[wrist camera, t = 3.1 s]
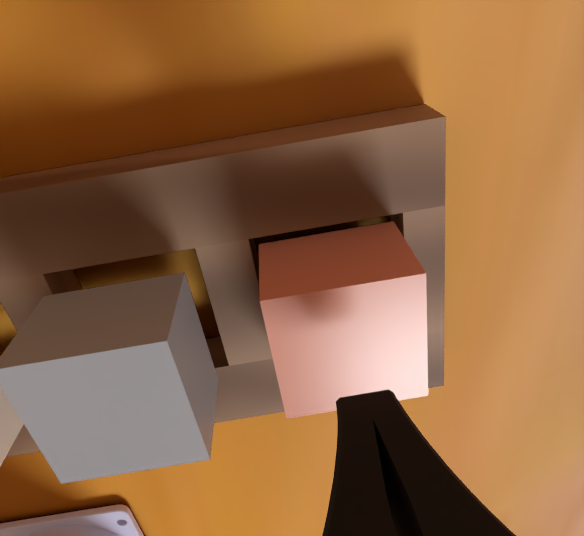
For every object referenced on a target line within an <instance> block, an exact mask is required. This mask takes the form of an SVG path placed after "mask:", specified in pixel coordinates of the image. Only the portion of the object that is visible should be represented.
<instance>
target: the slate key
mask: <svg viewBox="0 0 584 536" xmlns="http://www.w3.org/2000/svg"><path fill="white" fill-rule="evenodd" d="M217 385H218V378H217V374H216V371H215V368H214V365H213V362H212V358H211V355H210V352H209V349H208V345H207V342H206V339H205V336H204V333H203V329H202V326H201V323H200V320H199V317H198V313H197V310H196V307H195V304H194V301H193V297H192V294H191V291H190V288H189V284H188V281H187V278H186V275H185V272H183V273H178V274H172V275H166V276H160V277H154V278H148V279H142V280H136V281H130V282H124V283H119V284H113V285H107V286H101V287H95V288H89V289H83V290H77V291H71V292H65V293H60V294H54V295H48V296H43V298H42V299H41V300H40V302H39V303H38V305H37V306H36V307H35V309H34V310H33V312H32V313H31V314H30V316H29V317H28V319H27V320H26V321H25V323H24V324H23V326H22V327H21V328H20V330H19V331H18V333H17V334H16V335H15V337H14V338H13V340H12V341H11V342H10V344H9V345H8V347H7V348H6V349H5V351H4V352H3V354H2V355H1V356H0V387H1V388H2V390H3V391H4V393H5V395H6V396H7V398H8V399H9V401H10V403H11V404H12V406H13V407H14V409H15V411H16V412H17V414H18V415H19V417H20V419H21V420H22V422H23V423H24V425H25V427H26V428H27V430H28V431H29V433H30V435H31V436H32V438H33V439H34V441H35V443H36V444H37V446H38V447H39V449H40V451H41V452H42V454H43V455H44V457H45V459H46V460H47V462H48V463H49V465H50V467H51V468H52V470H53V471H54V473H55V475H56V476H57V478H58V479H59V481H60V483H61V484H63V483H69V482H76V481H82V480H88V479H94V478H100V477H106V476H113V475H119V474H125V473H131V472H137V471H143V470H150V469H156V468H162V467H168V466H174V465H180V464H187V463H193V462H199V461H205V460H210V456H211V446H212V436H213V425H214V415H215V405H216V395H217Z"/></svg>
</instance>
